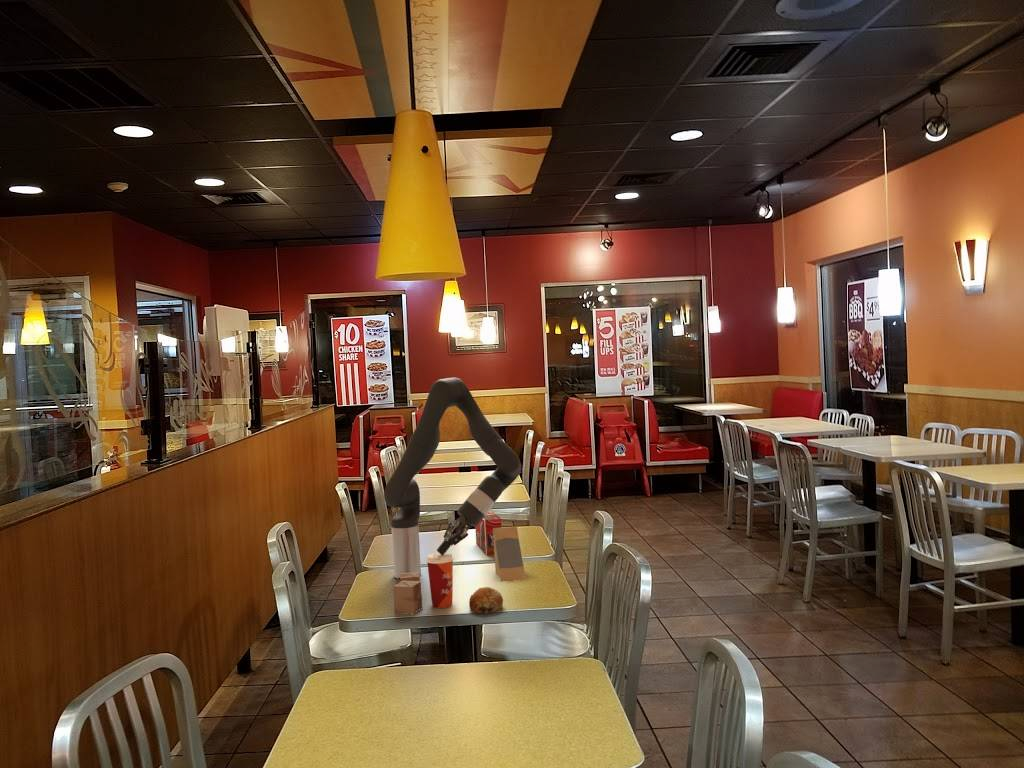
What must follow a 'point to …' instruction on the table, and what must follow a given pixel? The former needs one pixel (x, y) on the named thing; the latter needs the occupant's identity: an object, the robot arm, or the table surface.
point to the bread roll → (485, 600)
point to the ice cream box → (487, 532)
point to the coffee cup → (441, 579)
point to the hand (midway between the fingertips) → (439, 553)
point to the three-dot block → (407, 596)
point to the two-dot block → (410, 576)
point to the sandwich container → (508, 554)
